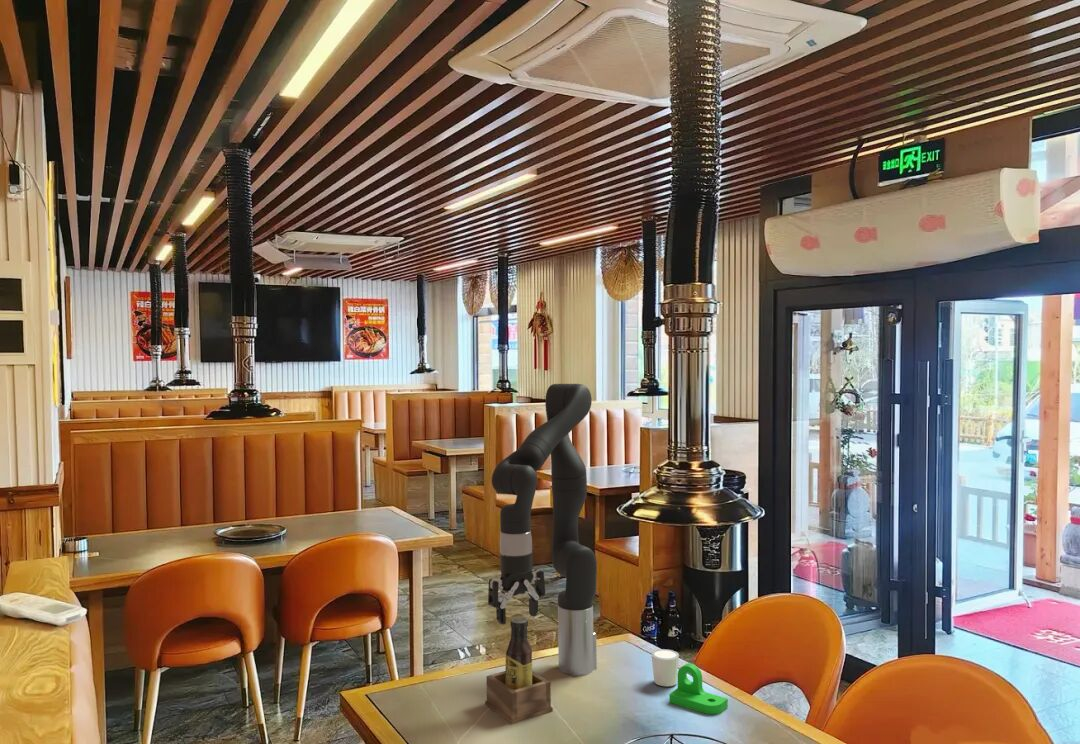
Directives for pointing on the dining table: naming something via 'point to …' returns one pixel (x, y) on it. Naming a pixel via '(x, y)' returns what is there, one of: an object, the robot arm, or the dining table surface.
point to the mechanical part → (695, 693)
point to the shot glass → (665, 667)
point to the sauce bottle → (519, 656)
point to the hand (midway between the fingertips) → (517, 619)
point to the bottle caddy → (518, 698)
